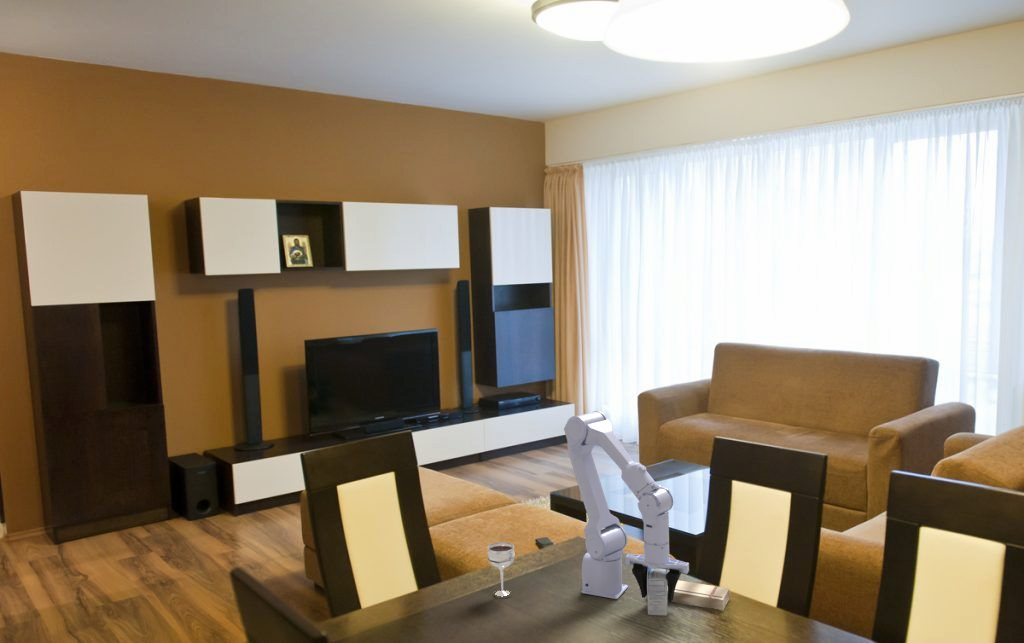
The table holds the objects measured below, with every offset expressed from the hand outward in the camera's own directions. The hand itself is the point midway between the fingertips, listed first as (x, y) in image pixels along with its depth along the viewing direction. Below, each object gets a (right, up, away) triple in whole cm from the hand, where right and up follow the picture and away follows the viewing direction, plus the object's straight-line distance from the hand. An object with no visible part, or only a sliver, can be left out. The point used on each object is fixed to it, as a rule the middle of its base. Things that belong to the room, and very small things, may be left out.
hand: (657, 598), depth 178 cm
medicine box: (0, -3, 0) cm, 3 cm away
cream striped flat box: (+8, -2, +5) cm, 10 cm away
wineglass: (-36, -3, +10) cm, 38 cm away
